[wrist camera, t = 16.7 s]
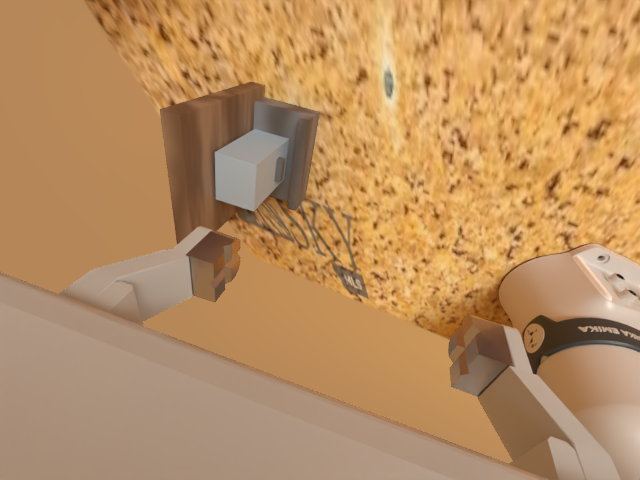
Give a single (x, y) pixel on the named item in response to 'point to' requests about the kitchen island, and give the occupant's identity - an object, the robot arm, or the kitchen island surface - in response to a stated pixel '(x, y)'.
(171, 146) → the wall board
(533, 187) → the kitchen island surface
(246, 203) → the grey box with notch
